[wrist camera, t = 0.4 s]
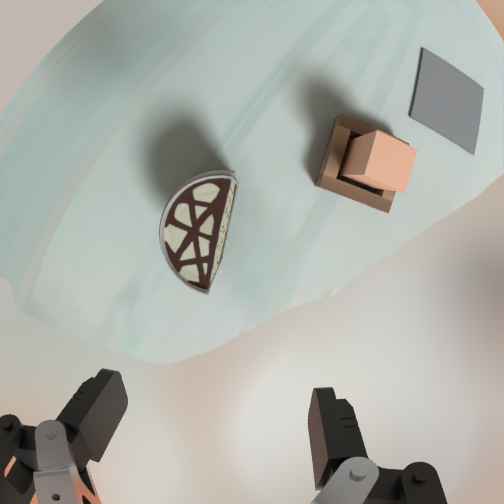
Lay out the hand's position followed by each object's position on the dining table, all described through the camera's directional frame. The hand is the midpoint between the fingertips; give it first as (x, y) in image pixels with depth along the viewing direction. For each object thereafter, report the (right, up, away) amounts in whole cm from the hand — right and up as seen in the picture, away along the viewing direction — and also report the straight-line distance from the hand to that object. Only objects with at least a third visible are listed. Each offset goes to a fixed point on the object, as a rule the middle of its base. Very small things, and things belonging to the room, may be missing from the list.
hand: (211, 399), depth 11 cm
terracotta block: (+15, +17, +23) cm, 32 cm away
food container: (-4, +10, +26) cm, 28 cm away
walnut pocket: (+15, +17, +23) cm, 32 cm away
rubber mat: (+30, +27, +20) cm, 45 cm away
